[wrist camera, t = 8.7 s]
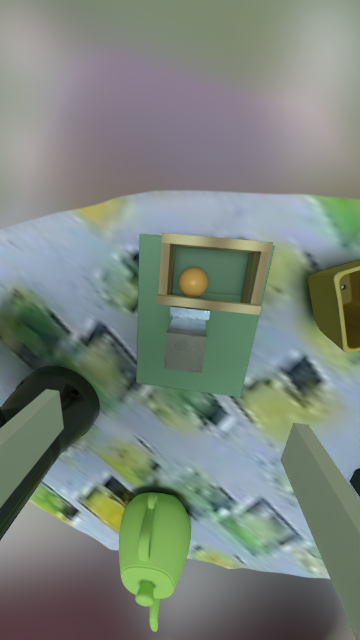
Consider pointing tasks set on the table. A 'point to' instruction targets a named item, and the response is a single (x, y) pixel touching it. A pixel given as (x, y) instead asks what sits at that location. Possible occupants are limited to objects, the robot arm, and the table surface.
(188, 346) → the block
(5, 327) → the table surface
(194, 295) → the ball
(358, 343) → the flower pot
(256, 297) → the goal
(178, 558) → the teapot
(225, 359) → the board
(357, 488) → the wine bottle
